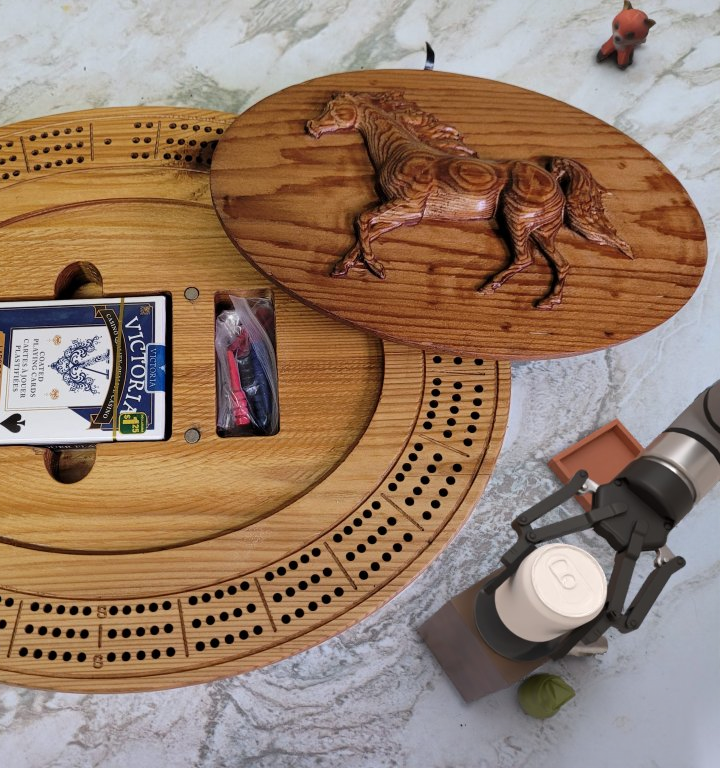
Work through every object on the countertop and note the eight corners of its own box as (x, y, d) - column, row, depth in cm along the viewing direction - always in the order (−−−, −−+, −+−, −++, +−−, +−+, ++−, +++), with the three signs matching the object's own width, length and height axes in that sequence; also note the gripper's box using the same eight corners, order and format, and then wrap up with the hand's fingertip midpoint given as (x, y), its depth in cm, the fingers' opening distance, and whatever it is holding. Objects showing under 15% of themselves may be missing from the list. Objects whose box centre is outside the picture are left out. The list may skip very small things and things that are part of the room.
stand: (531, 659, 111) (587, 634, 93) (466, 703, 109) (510, 686, 91) (480, 589, 116) (523, 552, 98) (416, 629, 114) (449, 599, 96)
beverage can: (517, 654, 88) (555, 635, 78) (479, 584, 92) (510, 557, 81) (583, 625, 89) (629, 603, 79) (543, 557, 93) (582, 527, 82)
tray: (670, 491, 121) (678, 486, 119) (604, 534, 118) (610, 529, 116) (610, 423, 126) (617, 417, 124) (546, 463, 123) (551, 458, 121)
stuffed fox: (654, 52, 160) (684, -2, 149) (619, 81, 157) (647, 29, 146) (622, 32, 162) (649, -22, 152) (586, 61, 159) (611, 8, 149)
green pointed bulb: (535, 669, 111) (561, 658, 102) (563, 704, 109) (592, 696, 100) (503, 692, 110) (527, 684, 101) (531, 729, 107) (557, 723, 98)
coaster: (580, 633, 93) (582, 632, 93) (511, 679, 92) (512, 679, 91) (523, 558, 97) (524, 556, 97) (455, 601, 95) (456, 600, 95)
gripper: (727, 564, 89) (590, 710, 83) (573, 429, 96) (437, 554, 90) (767, 545, 82) (621, 703, 76) (598, 402, 89) (453, 536, 83)
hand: (522, 622), depth 83 cm, fingers closed on beverage can, 8 cm apart
